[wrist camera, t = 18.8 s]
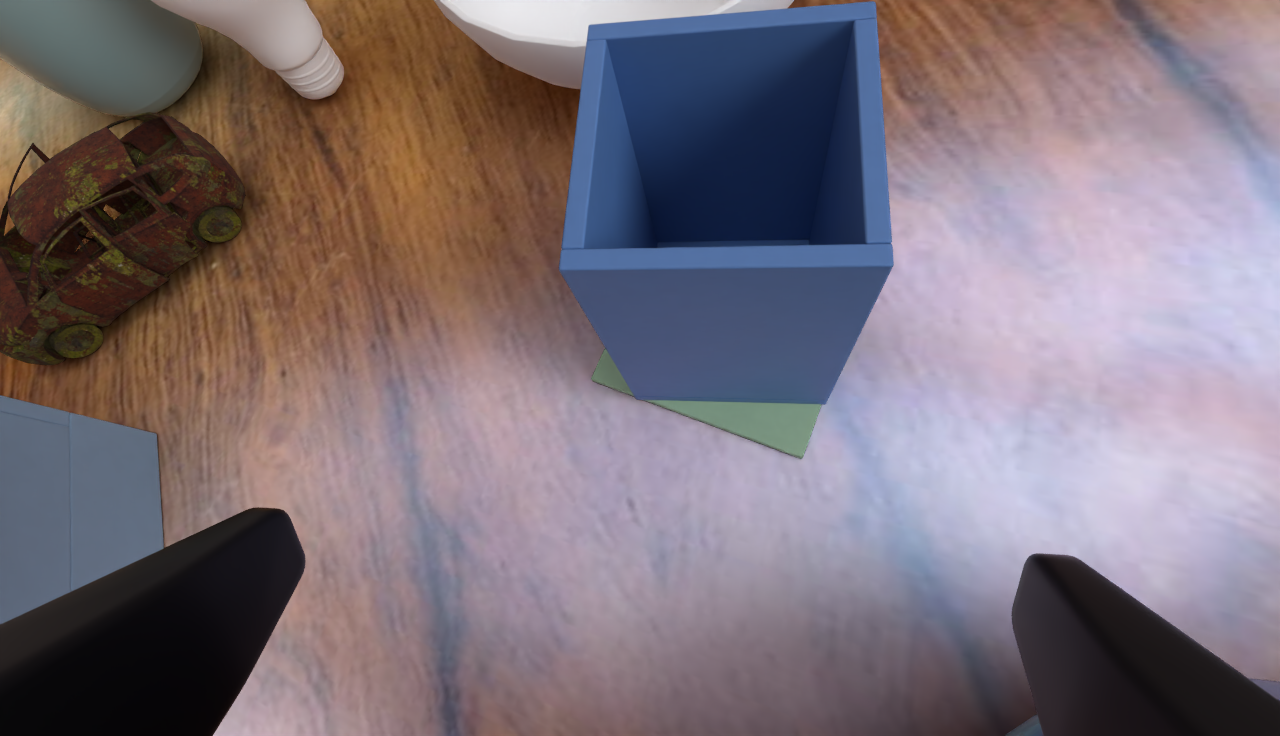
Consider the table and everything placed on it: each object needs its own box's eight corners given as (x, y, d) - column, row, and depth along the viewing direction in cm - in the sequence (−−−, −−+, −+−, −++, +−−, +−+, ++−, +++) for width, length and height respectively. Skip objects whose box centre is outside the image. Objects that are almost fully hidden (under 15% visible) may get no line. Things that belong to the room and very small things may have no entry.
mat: (801, 459, 21) (803, 458, 20) (592, 381, 23) (590, 378, 23) (872, 259, 23) (873, 255, 22) (672, 204, 25) (672, 199, 24)
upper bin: (826, 404, 21) (894, 266, 12) (635, 400, 22) (557, 269, 13) (821, 234, 23) (876, -1, 14) (647, 238, 24) (588, 23, 15)
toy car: (213, 135, 30) (118, 56, 25) (280, 217, 28) (189, 146, 23) (7, 297, 29) (-131, 245, 24) (59, 398, 26) (-84, 361, 22)
